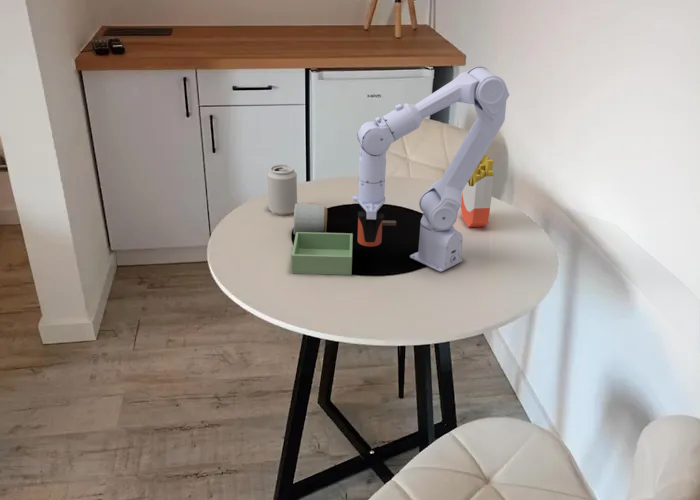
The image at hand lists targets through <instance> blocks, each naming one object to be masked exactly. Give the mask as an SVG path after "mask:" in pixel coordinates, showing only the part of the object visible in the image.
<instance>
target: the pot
mask: <svg viewBox="0 0 700 500" xmlns="http://www.w3.org/2000/svg"><path fill="white" fill-rule="evenodd" d="M383 226H387V227H388V226H390V227H391V226H392V227H396V226H397V220H384V219H383V221H382V222H381V224H380V226H379V228H378V232H377V236H376V240H375V242H365V239H364V233H363V227H362V224H361V222H360V220H359V218H358V217H357V244H359V245H360V246H363V247H371V248H372V247H377V246H380V245H381V244H382V242H383V241H382V240H383Z"/></svg>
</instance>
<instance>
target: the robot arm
mask: <svg viewBox="0 0 700 500" xmlns="http://www.w3.org/2000/svg"><path fill="white" fill-rule="evenodd" d="M509 96H510V93H509V89H508V87H507V84H506V82H505V80H504V79H503V78H502V77H501V76H498V75H497V74H496V75H495V74H494V73H493V72H491V71H490V70H489V69H488V68H487V67H485V66H482V65H476V66H473V67H471V68H470V69H468V70H467V71H463V72H461V73H459V74H458V75H457V76H456V77H454V79H452V80H451V81H449V82H448V83H447V84H445V85H443V86H441V87H440V88H438V89H437V90H436V91H434V92H432V93H430V94H429V95H428V96H426V97H424V98H423V99H421V100H420V101H418V102H416V103H415V104H411V103H408V102H405V103H403V104H401V103H398V104H396V105H395V106H394V108H395V109H393V110H391V111H389V112H388V113H386V114H384V115H383V116H381V117H380V116H377V117H375V118H374V120H375V121H374V120H370V121H366V122H364V123H363V124H362V125H361V126H360V128H359V129H358V132H357V133H356V138H357V141H358V143H359V144H360V146H359V158H358V183H357V184H358V187H357V195H356V194H355V195H352V202H356V203H358V205H359V208H360V210H361V211H360V210H359V211H357V219H358V218H359V220H360V222H361V224H362V227H363V233H364V239H365V242H375V240H376V236H377V232H378V228H379V226H380V224H381V222H382V221H383V220H384V219H385V213H380V210H381V208H382V206H383V205H384V204H385V202H386V196H385V190H386V170H387V165H386V164H387V158H386V157H387V156H386V155H387V152H388V150H389V149H390V147H391V144H392V143H395V142H396V141H398V140H400V139H402V138H403V137H405V136H407V135H409V134H411V133H412V132H414V131H416V130H419V128H420V127H421V125H422V122H423V120H424V119H426V118H428V117H429V116H431V115H434V114H435V113H438V112H440V111H441V110H443V109H446V108H448V107H450V106H451V105H453V104H456V103H463V104H468V105H473V106H474V109H475V112H476V115H477V117H476V119H475V120H474V122H473V124H472V125H471V127H470V128H469V130H468V132H467V134H466V135H465V137H464V139H463V141H462V143H461V144H460V146H459V148H458V149H457V151H456V152H455V155H454V156H453V158H452V160H451V161H450V162H449V164H448V166H447V167H446V170H445V172H444V173H443V175H442V176H441V178H440V179H439V180H436V181H434V182H433V183H432V185H431V186H430V187H429V189H428V190H425V192H423V193H422V195H421V196H420V198H419V201H418V205H419V209H420V210H421V212H423V213H422V217H421V219H420V225H419V239H418V250H417V252H414V253H412V254H410V255H409V258H410V259H412V260H414V261H416V262H418V263H421V264H422V265H424V266H426V267H429V268H432V269H433V270H435V271H438V272H439V273H440V272H444V271H446V270H449V269H450V268H452V267H454V266H456V265H458V264H460V263H462V262H463V258H462V257H461V256H462V248H463V234H462V233H461V232H460V231H459V230H457V229H456V228H455V226H454V225H455V224H456V222H457V219H458V213H459V210H460V209H461V197H462V191H463V189H464V187H465V186H466V184H467V182H468V181H469V179H470V177H471V176H472V174H473V172H474V171H475V169H476V168H477V166H478V164H479V163H480V161H481V159H482V158H483V156H484V154H487V153H486V152H487V151H488V150H489V148H490V146H491V144H492V143H493V141H494V139H495V138H496V136H497V135H498V133H499V131H500V130H501V128H502V127H503V124H504V123H505V120H506V110H507V109H506V108H507V101H508V98H509Z"/></svg>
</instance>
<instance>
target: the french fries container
mask: <svg viewBox="0 0 700 500" xmlns="http://www.w3.org/2000/svg"><path fill="white" fill-rule="evenodd" d="M494 162H495V161H494V160H493V159H490V158H489V157H487V153H485V154H484V156H483V158H482V159H481V161H480V163H479V164H478V166H477V168H476V169H475V171H474V172H473V174H472V176H471V177H470V179H469V181H468V182H467V184H466V186H465V187H464V189H463V191H462V194H461V206H460V210H461V211H460V212H461V219H462V220H463V221H464V223H465V225H466V226H467V227H468V228H483V227H486V225H487V224H489V220H490V211H491V204H492V196H493V189H494V181H495V176H494V171H493V168H494Z"/></svg>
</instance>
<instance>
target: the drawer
mask: <svg viewBox="0 0 700 500" xmlns="http://www.w3.org/2000/svg"><path fill="white" fill-rule="evenodd" d="M353 237H354V234H353V232H351V233H350V232H349V233H348V232H347V233H346V232H326V233H315V232H296V235H294V241H293V247H292V252H291V274H300V275H304V274H306V275H341V276H342V275H343V276H352V273H353V272H352V271H353V239H354V238H353Z"/></svg>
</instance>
